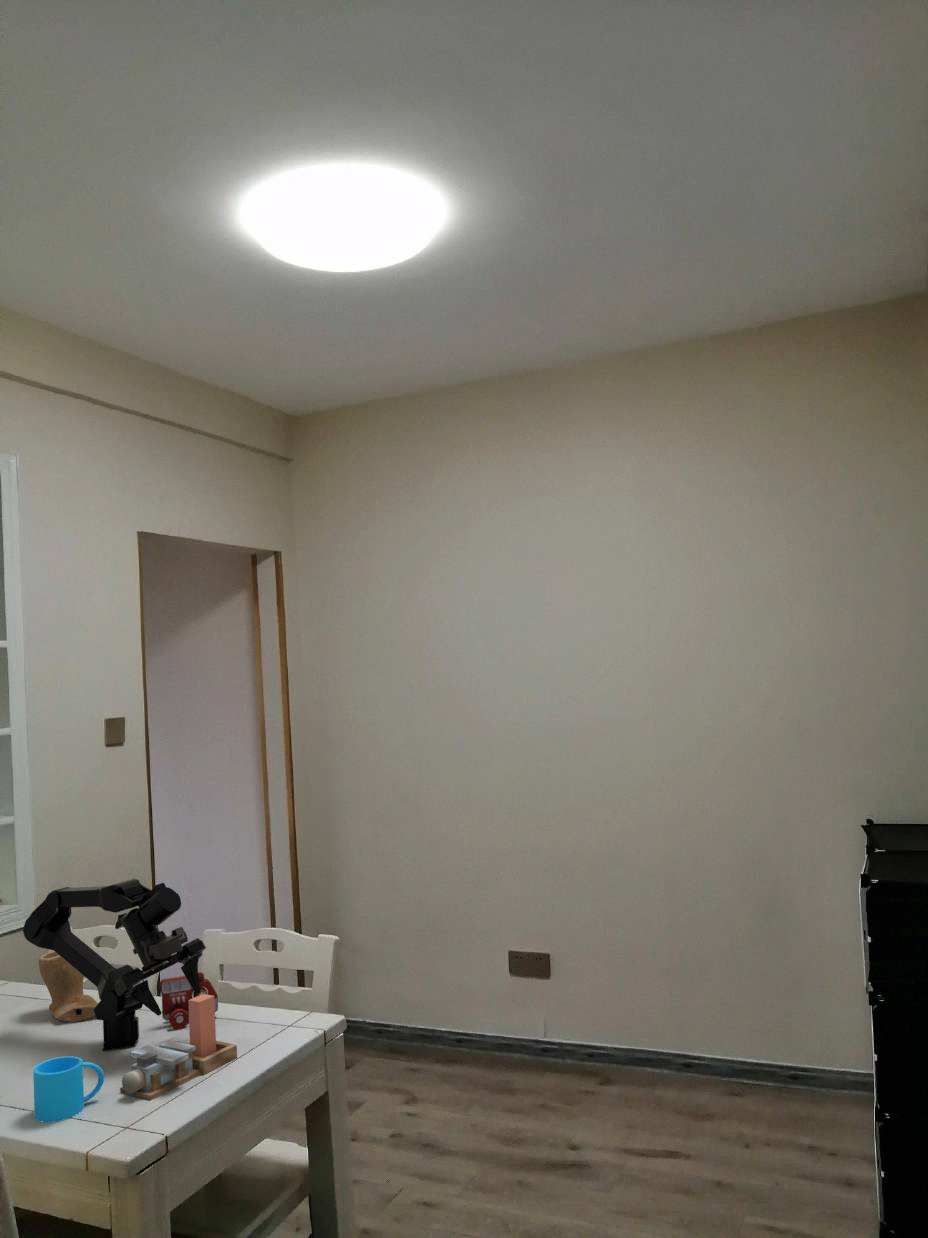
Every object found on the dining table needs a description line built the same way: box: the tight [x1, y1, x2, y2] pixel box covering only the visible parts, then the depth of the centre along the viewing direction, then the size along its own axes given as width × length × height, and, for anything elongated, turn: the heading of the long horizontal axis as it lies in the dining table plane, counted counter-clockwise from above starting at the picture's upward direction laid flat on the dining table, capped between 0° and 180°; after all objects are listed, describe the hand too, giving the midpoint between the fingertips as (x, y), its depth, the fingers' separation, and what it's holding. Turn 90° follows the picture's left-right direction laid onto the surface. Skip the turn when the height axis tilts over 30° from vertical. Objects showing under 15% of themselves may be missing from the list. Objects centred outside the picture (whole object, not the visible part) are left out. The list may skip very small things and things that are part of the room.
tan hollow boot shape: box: [38, 950, 99, 1023], centre depth 229 cm, size 15×12×15 cm
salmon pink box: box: [188, 994, 217, 1058], centre depth 197 cm, size 3×4×12 cm
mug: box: [32, 1055, 105, 1123], centre depth 178 cm, size 12×8×8 cm
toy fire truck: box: [158, 971, 219, 1030], centre depth 220 cm, size 7×12×10 cm, turn 114°
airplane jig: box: [119, 1040, 238, 1101], centre depth 191 cm, size 23×11×6 cm, turn 149°
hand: (179, 1004), depth 202 cm, fingers open, 9 cm apart
